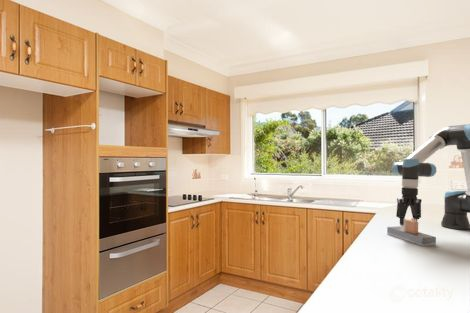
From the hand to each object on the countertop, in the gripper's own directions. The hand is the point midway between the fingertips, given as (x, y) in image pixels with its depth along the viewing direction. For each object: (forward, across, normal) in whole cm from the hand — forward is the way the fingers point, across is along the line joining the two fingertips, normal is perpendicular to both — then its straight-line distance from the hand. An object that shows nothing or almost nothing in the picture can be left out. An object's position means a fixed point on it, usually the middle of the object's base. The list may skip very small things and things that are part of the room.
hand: (408, 231), depth 162 cm
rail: (+4, -1, 0) cm, 5 cm away
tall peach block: (+3, -1, 0) cm, 4 cm away
